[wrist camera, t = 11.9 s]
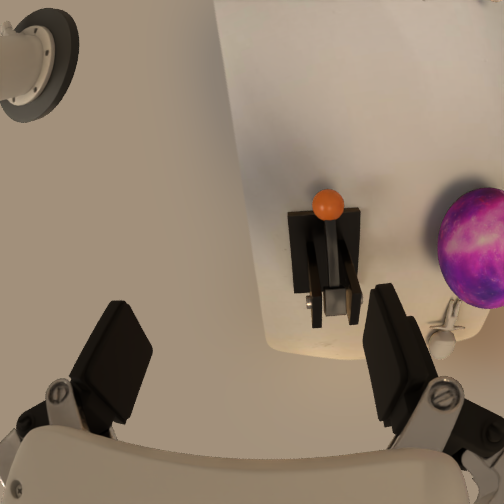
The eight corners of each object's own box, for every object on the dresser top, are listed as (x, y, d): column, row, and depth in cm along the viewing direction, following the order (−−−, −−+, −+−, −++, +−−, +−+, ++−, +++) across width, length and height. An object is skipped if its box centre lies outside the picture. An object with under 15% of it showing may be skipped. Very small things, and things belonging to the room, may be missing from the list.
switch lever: (310, 193, 31) (311, 187, 28) (339, 191, 31) (344, 185, 27) (318, 310, 31) (320, 318, 28) (347, 308, 31) (353, 315, 27)
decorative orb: (415, 271, 38) (454, 345, 25) (422, 173, 30) (489, 228, 18) (488, 258, 35) (534, 318, 22) (502, 171, 28) (569, 217, 15)
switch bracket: (287, 212, 36) (288, 266, 26) (358, 207, 34) (385, 258, 24) (294, 288, 42) (295, 351, 32) (354, 283, 40) (371, 345, 30)
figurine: (478, 305, 36) (458, 364, 39) (466, 294, 41) (450, 349, 44) (441, 304, 38) (422, 365, 41) (431, 292, 43) (416, 349, 46)
